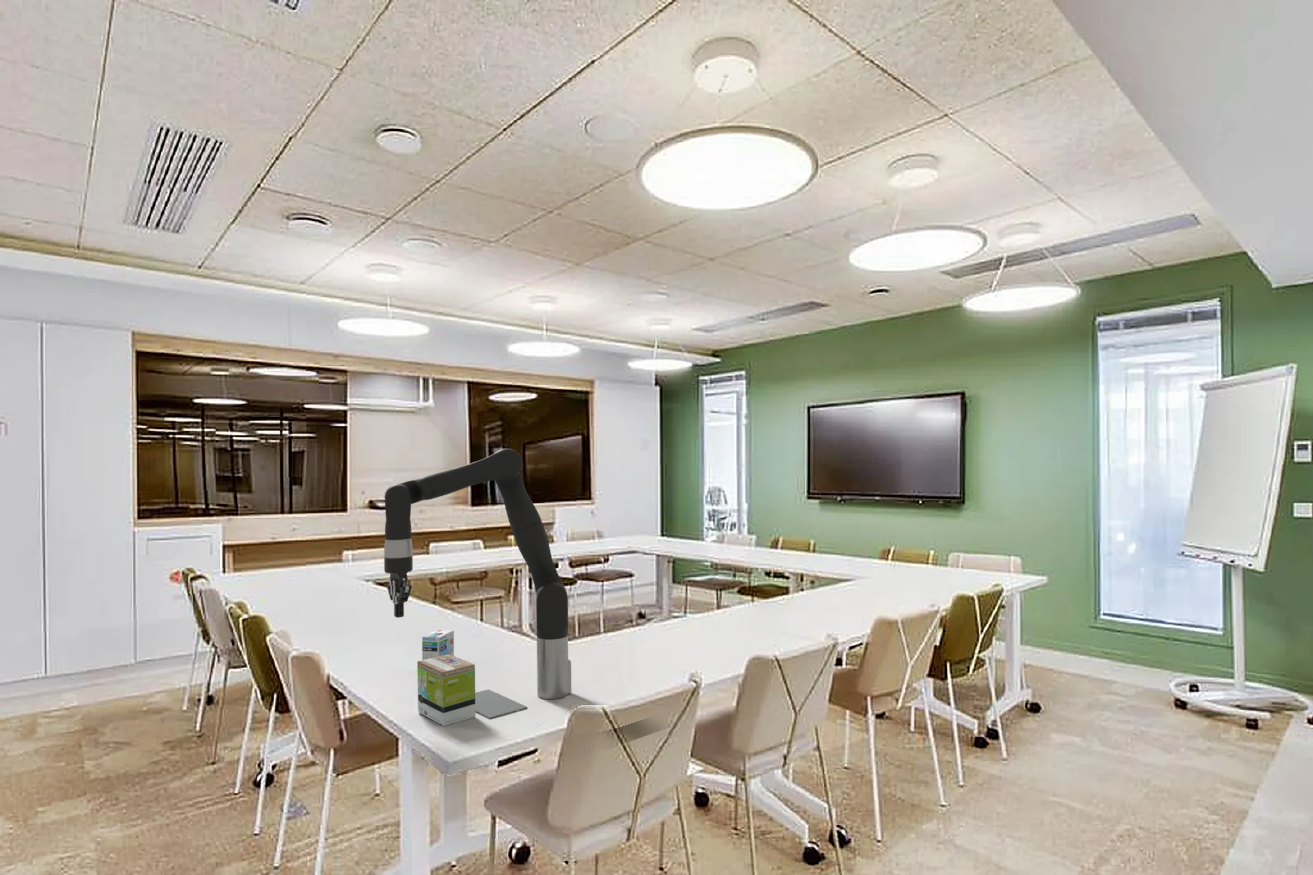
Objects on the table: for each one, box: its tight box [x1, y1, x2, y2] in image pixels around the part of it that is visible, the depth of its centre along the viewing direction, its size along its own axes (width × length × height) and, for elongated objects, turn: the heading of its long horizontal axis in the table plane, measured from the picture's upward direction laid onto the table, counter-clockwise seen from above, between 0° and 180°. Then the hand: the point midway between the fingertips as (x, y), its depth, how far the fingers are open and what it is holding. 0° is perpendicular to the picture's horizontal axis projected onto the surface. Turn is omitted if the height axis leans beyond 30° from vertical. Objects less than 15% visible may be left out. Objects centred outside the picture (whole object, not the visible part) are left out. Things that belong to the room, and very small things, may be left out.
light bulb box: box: [421, 629, 455, 661], centre depth 250 cm, size 11×7×11 cm, turn 168°
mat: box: [475, 689, 528, 720], centre depth 208 cm, size 12×22×1 cm, turn 42°
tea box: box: [416, 654, 476, 727], centre depth 199 cm, size 15×10×15 cm
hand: (399, 616), depth 204 cm, fingers closed
